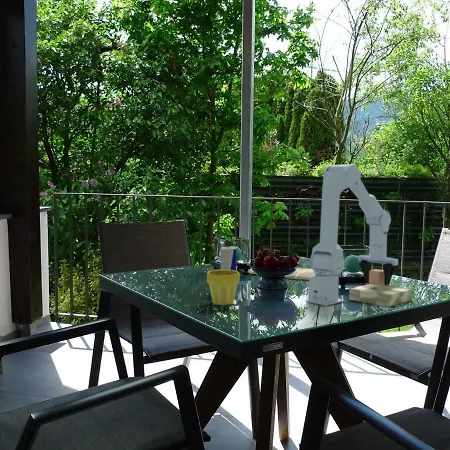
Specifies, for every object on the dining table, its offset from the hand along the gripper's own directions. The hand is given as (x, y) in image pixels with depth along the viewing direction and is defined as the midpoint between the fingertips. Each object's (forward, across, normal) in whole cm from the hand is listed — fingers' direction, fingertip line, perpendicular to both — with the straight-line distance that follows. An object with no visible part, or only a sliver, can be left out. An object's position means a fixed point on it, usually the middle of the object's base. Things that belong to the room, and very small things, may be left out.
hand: (377, 283), depth 194 cm
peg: (+2, 0, 0) cm, 2 cm away
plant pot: (+3, +22, +52) cm, 57 cm away
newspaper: (+3, +46, -2) cm, 46 cm away
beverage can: (+3, +36, +37) cm, 52 cm away
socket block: (+2, -9, +12) cm, 15 cm away
